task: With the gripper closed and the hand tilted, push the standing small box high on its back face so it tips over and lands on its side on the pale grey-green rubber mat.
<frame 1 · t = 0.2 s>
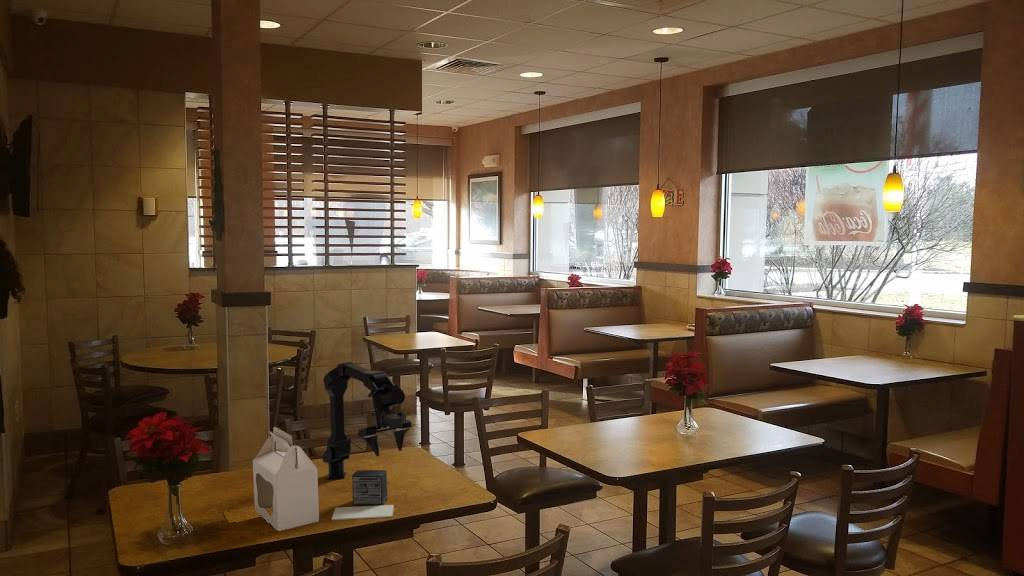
hand: (389, 453, 259), 15 cm above the table, tool tilted 15°, fingers open, 9 cm apart
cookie: (244, 516, 247), on the table
gable box: (286, 517, 244), on the table
mat: (363, 512, 246), on the table
small box: (370, 503, 256), on the table
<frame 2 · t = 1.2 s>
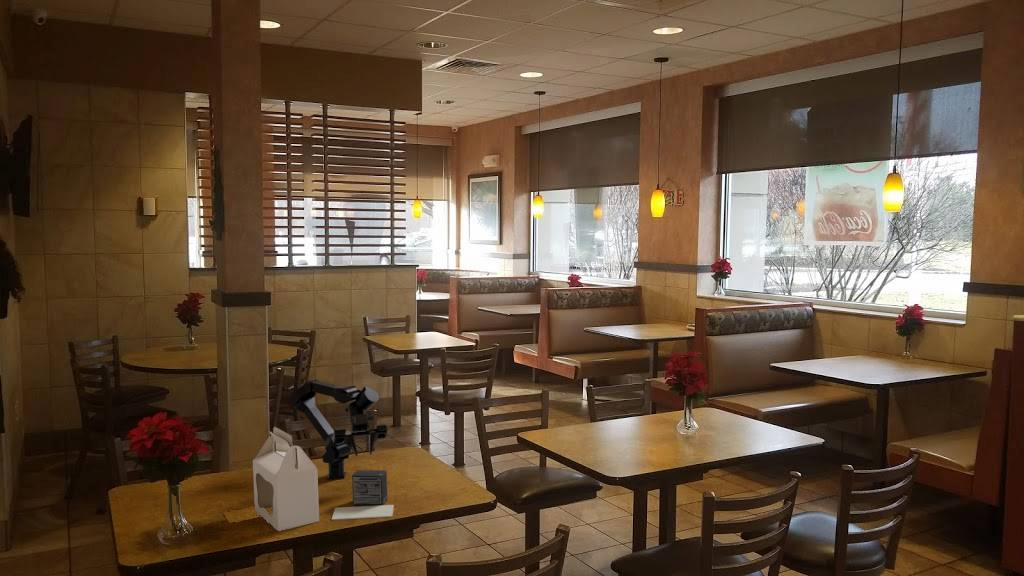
hand: (363, 454, 264), 14 cm above the table, tool tilted 45°, fingers open, 5 cm apart
nothing on the table moved.
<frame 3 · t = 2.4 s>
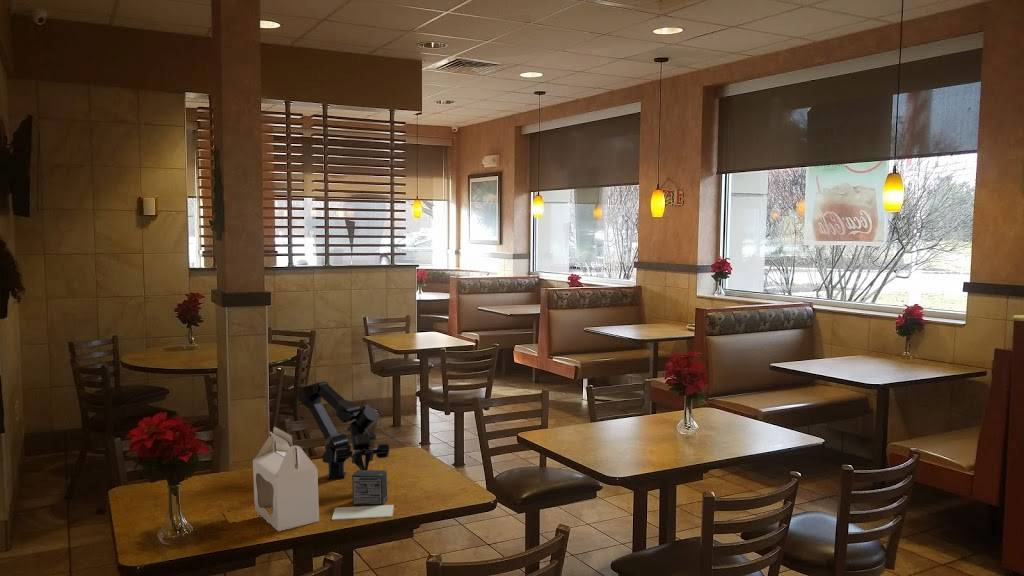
hand: (365, 474, 263), 7 cm above the table, tool tilted 45°, fingers closed
nothing on the table moved.
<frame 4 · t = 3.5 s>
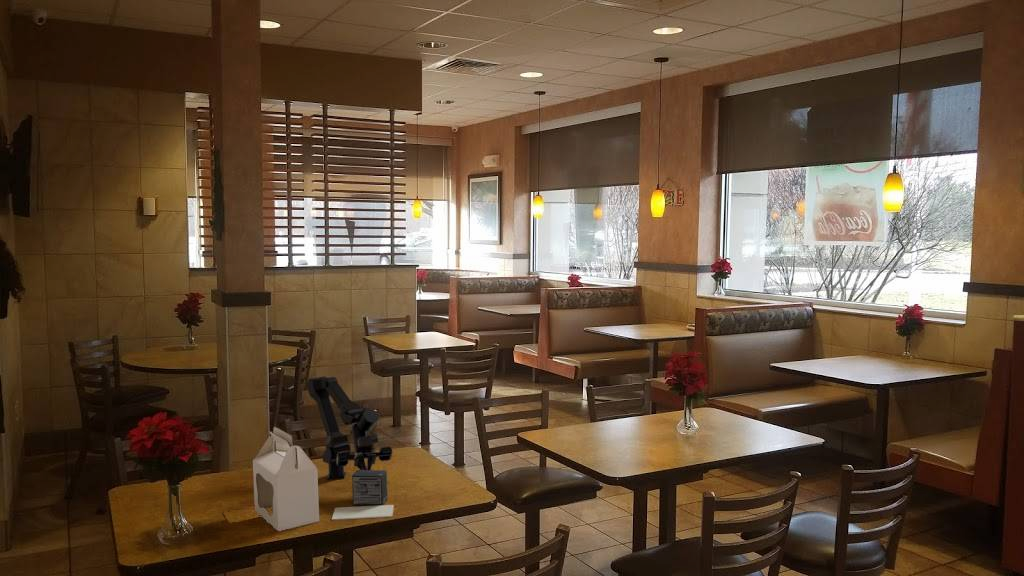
hand: (368, 477, 259), 7 cm above the table, tool tilted 45°, fingers closed
small box: (370, 503, 256), on the table, touching gripper
everything else where it was.
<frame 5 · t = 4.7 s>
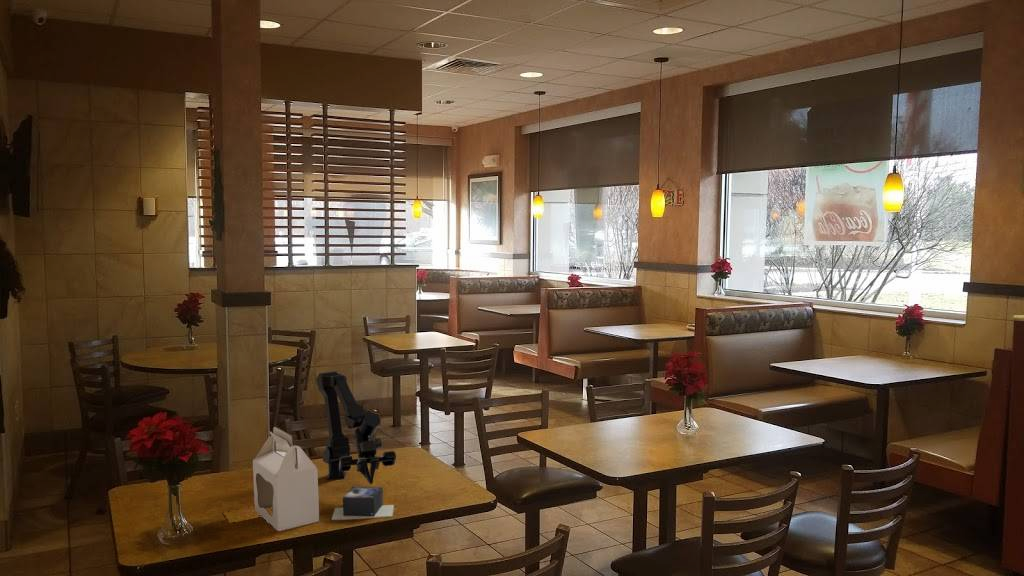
hand: (371, 483, 253), 7 cm above the table, tool tilted 45°, fingers closed
small box: (367, 494, 252), point 4 cm above the table, touching mat
everything else where it was.
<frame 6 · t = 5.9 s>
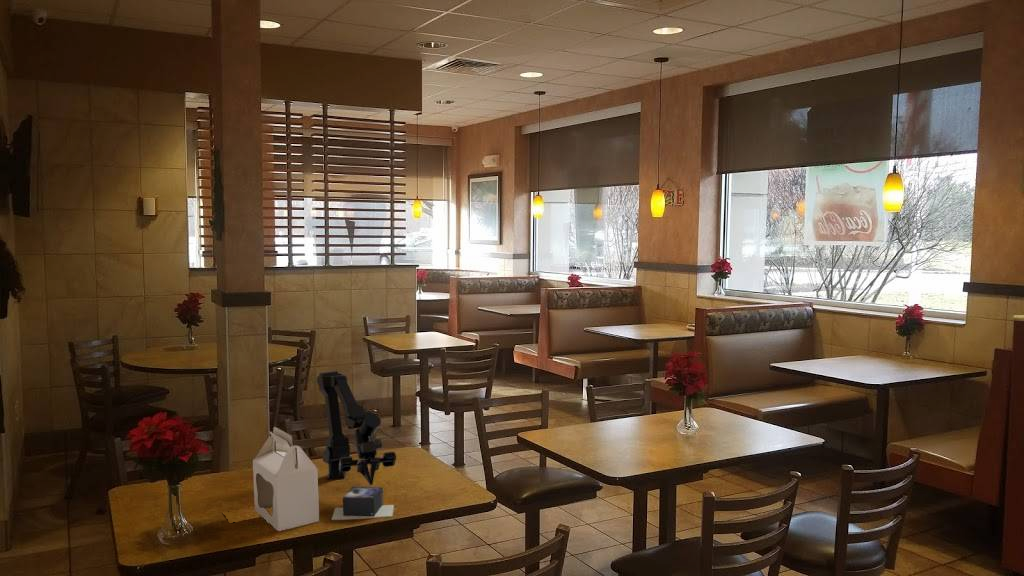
hand: (371, 484, 252), 7 cm above the table, tool tilted 45°, fingers closed
nothing on the table moved.
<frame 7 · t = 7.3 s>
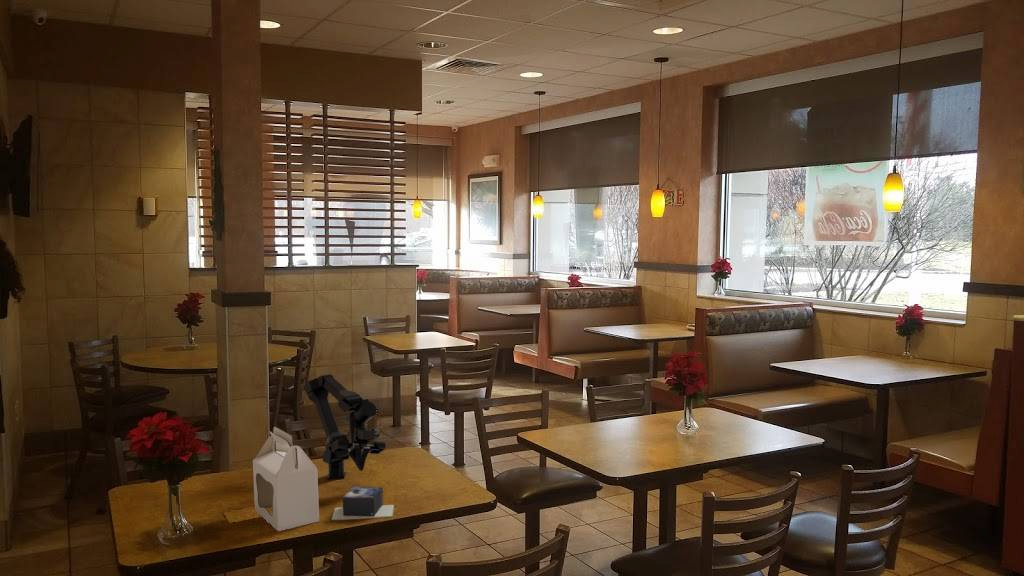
hand: (361, 470, 262), 9 cm above the table, tool tilted 35°, fingers closed
nothing on the table moved.
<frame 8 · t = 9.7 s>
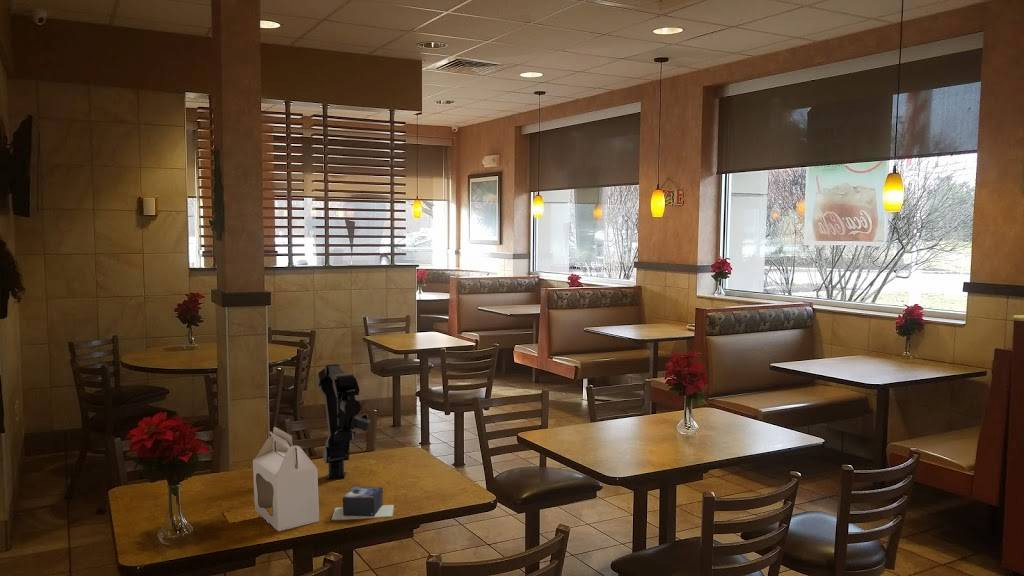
hand: (346, 454, 268), 13 cm above the table, tool pointing down, fingers closed
nothing on the table moved.
at the end: small box tilted 91°; small box touching mat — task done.
